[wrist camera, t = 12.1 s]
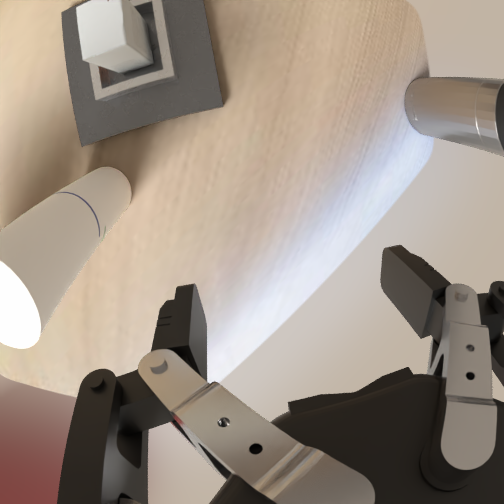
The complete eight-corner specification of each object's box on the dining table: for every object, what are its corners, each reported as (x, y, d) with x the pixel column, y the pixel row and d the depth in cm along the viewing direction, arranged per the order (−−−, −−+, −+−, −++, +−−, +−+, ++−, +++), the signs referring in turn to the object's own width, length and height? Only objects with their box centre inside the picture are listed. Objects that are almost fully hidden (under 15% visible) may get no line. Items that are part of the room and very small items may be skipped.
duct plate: (197, -28, 24) (196, -45, 19) (222, 107, 33) (224, 105, 28) (66, 15, 23) (49, 5, 18) (86, 145, 32) (70, 150, 27)
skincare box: (113, 34, 25) (74, 5, 14) (147, 22, 25) (121, -14, 14) (121, 76, 28) (80, 61, 17) (155, 65, 28) (128, 43, 17)
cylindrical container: (130, 164, 34) (19, 251, 12) (133, 218, 37) (56, 354, 15) (80, 168, 33) (-52, 253, 11) (86, 220, 36) (-16, 341, 14)
